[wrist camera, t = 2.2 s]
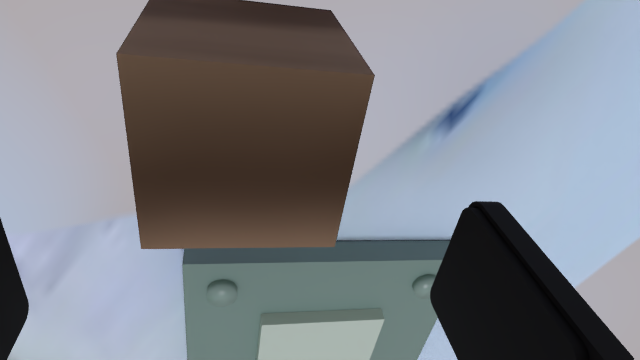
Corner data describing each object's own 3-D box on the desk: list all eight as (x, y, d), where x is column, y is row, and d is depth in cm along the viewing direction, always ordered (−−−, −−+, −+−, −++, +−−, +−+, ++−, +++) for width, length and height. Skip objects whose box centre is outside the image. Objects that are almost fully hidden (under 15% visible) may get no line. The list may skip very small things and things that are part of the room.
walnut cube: (155, -11, 12) (115, 53, 8) (330, 10, 13) (375, 75, 9) (166, 144, 15) (141, 249, 11) (308, 150, 16) (334, 247, 12)
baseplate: (185, 242, 17) (180, 276, 16) (454, 240, 20) (472, 269, 18) (192, 396, 24) (189, 430, 23) (391, 380, 27) (400, 409, 25)
